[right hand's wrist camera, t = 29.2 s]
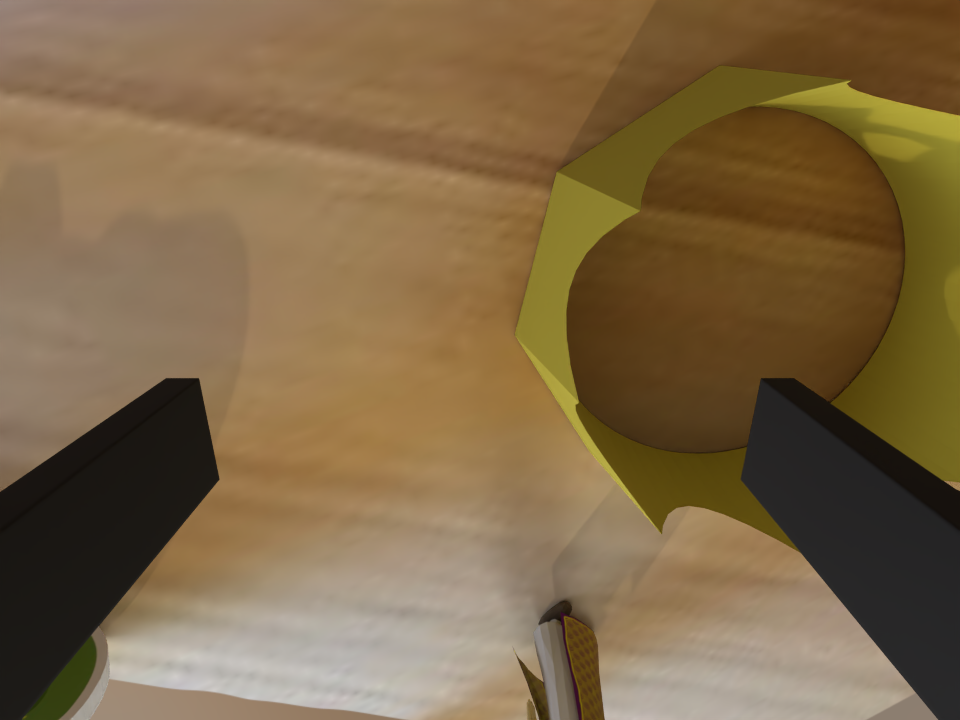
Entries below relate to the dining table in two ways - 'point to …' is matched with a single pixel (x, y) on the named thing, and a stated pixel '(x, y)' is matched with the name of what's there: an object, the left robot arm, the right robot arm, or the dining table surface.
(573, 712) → the figurine
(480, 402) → the dining table surface
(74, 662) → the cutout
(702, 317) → the dining table surface
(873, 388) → the crown
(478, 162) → the dining table surface
